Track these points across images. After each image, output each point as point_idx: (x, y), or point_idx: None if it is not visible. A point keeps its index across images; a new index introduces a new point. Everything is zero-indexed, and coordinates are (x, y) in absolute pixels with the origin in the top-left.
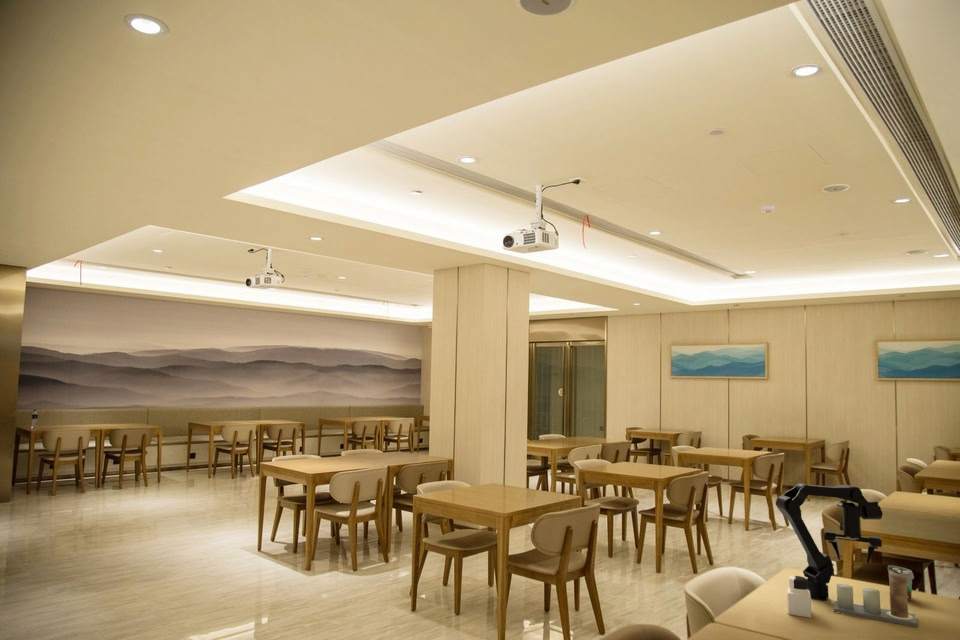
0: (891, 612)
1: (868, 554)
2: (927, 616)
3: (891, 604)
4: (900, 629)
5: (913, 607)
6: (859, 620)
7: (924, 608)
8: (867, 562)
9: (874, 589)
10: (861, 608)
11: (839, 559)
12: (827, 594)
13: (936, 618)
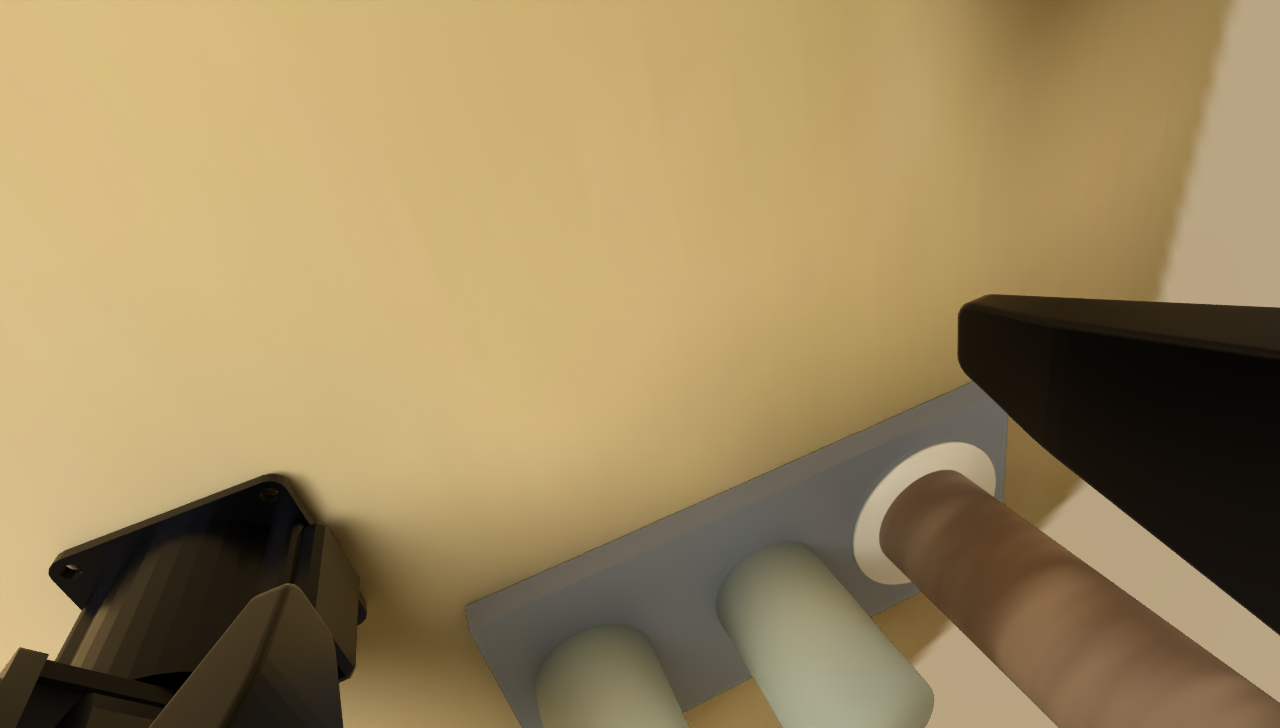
0: (895, 565)
1: (1268, 601)
2: (1063, 253)
3: (941, 610)
4: (908, 645)
5: (1002, 63)
6: (715, 724)
7: (1080, 6)
8: (997, 398)
9: (895, 691)
10: (698, 605)
11: (323, 661)
12: (354, 608)
13: (1107, 247)
